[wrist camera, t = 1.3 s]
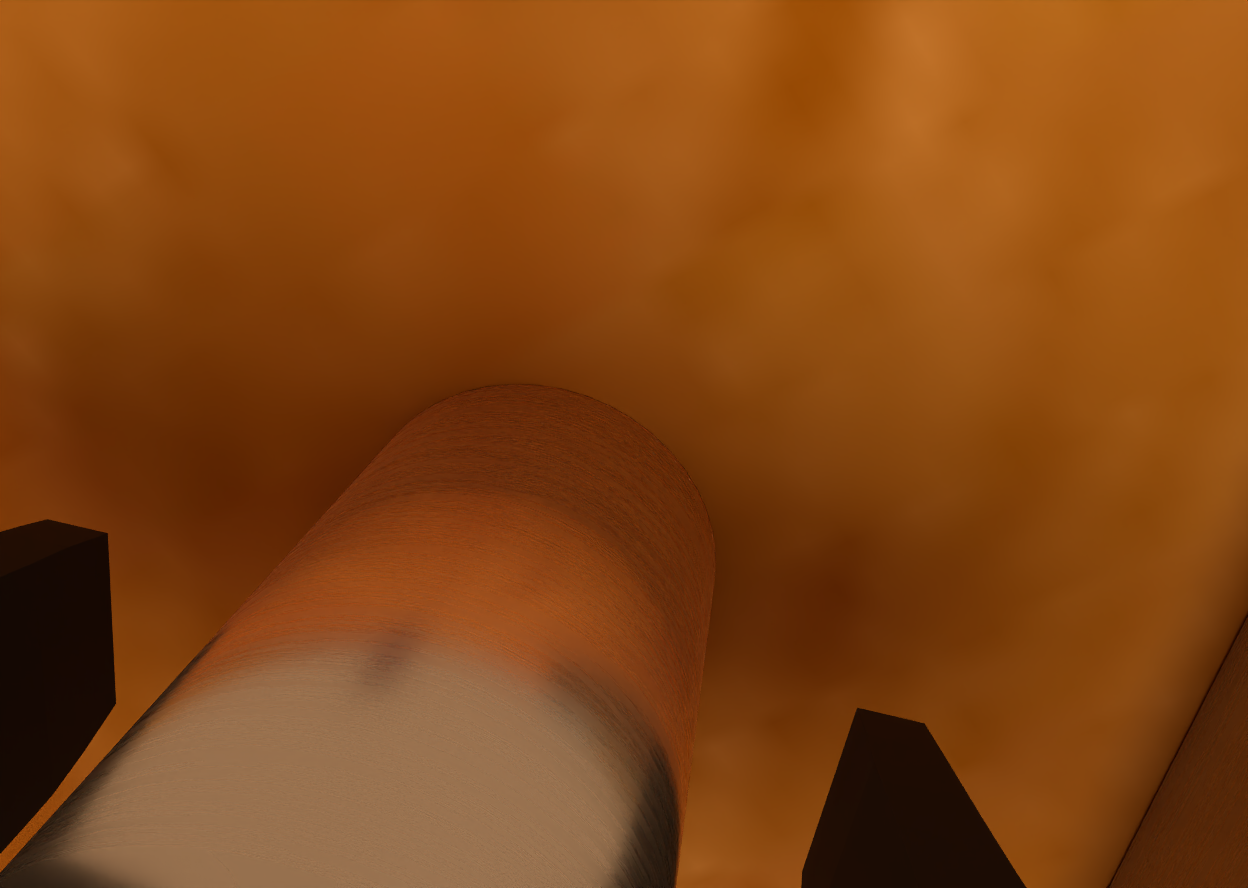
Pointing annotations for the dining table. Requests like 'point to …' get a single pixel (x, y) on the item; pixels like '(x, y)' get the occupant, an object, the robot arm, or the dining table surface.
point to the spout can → (433, 680)
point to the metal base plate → (1201, 797)
